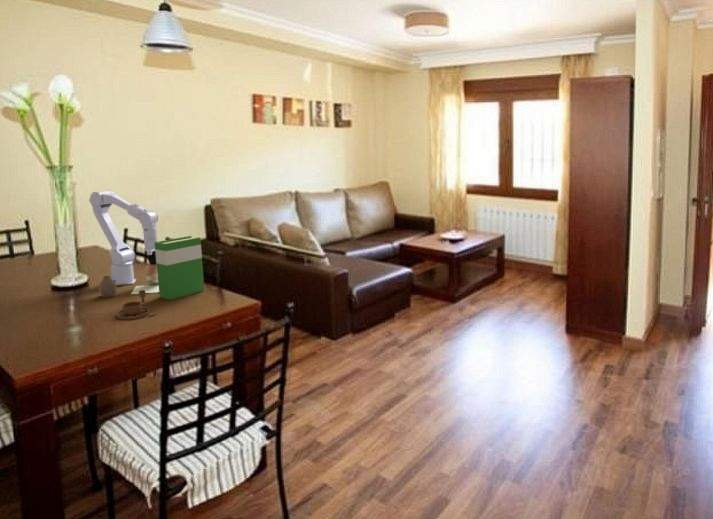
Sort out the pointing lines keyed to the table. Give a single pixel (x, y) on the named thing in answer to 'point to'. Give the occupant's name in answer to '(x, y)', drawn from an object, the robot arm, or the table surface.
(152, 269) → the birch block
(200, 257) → the hardback book
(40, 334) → the table surface
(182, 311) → the table surface
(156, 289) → the mat
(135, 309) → the place setting
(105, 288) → the vase
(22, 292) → the table surface
